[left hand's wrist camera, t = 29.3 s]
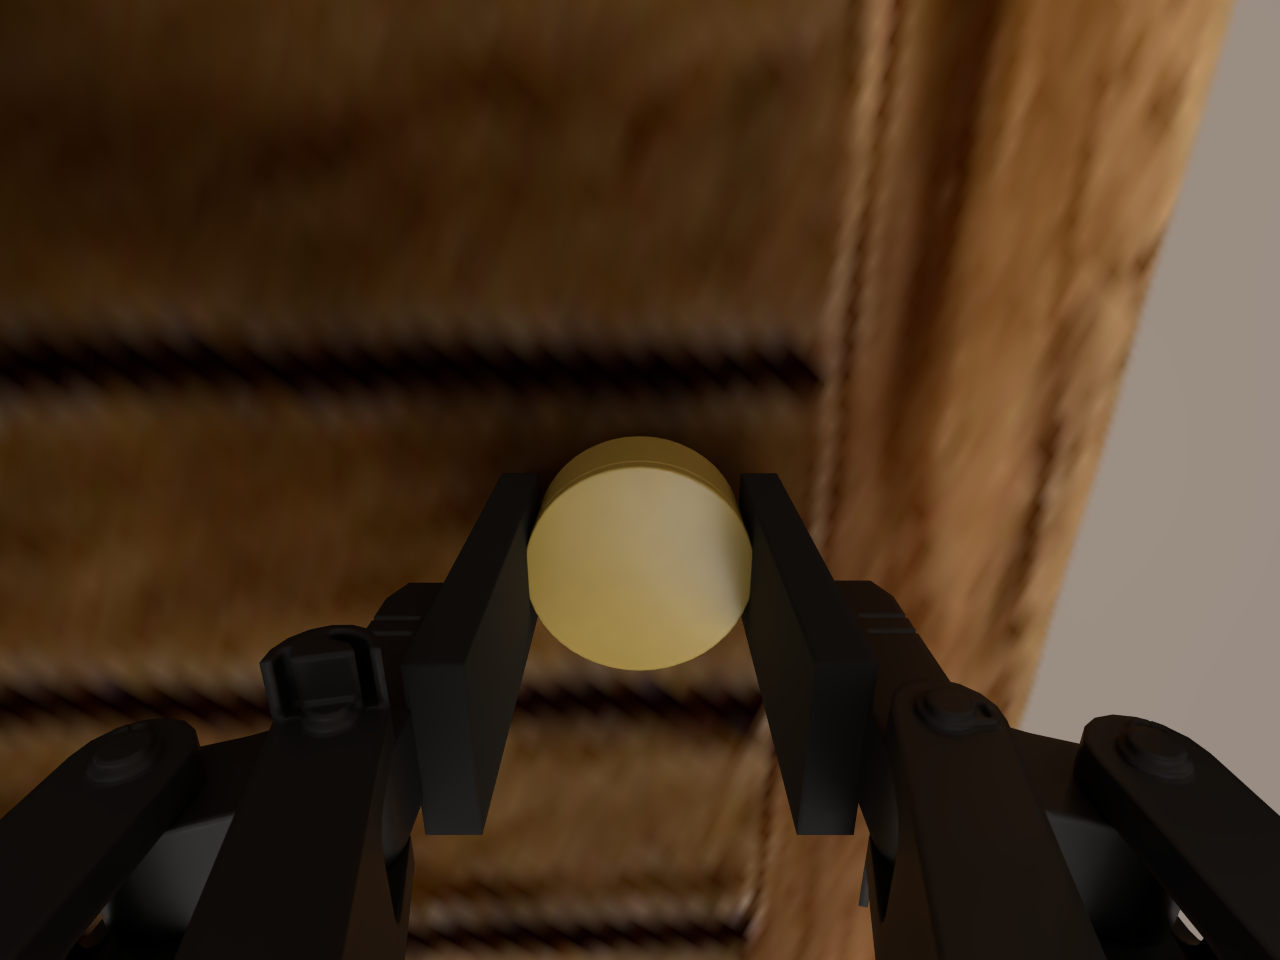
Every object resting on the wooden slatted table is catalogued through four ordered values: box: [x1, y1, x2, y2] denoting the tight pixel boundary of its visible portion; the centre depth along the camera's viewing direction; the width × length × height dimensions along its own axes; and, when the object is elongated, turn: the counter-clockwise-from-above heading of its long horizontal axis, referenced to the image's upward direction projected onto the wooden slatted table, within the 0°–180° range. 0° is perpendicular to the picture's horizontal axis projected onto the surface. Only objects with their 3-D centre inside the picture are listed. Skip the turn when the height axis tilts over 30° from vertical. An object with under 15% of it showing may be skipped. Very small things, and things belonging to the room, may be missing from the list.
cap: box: [527, 436, 752, 670], centre depth 14 cm, size 4×4×2 cm
